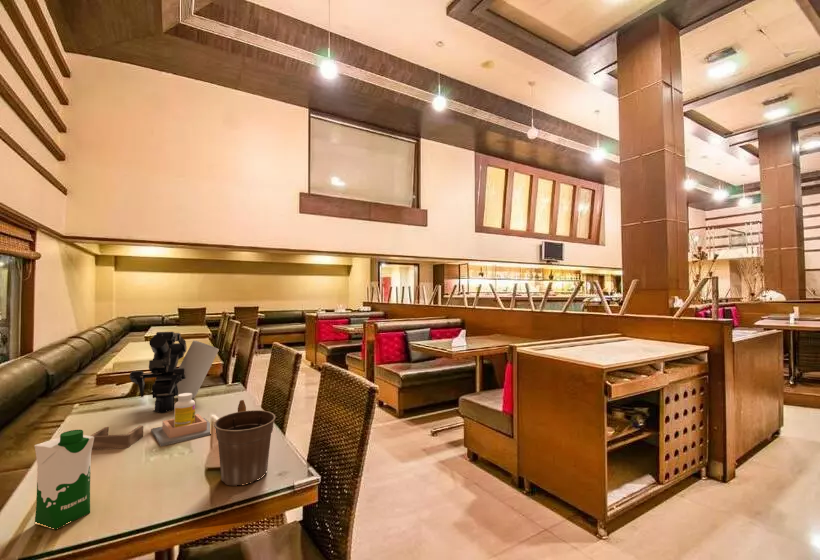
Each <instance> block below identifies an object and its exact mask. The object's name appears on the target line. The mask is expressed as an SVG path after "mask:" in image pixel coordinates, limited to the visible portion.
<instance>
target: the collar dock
mask: <svg viewBox="0 0 820 560" xmlns="http://www.w3.org/2000/svg"><path fill="white" fill-rule="evenodd" d="M210 423H211V422H210V421H208V420H207V418H205V417H202V416H201V414H200V413H195V423H194V424H189V425H184V426H180V427H175V428H174V418H170V419H165V420H162V426H159V427H153V428H151V429H150V433H152V435H153V437H154V438H155V439H156V440H155V441H157V443H158V445H160V447H164V446H168V445H172V444H177V443H181V442H185V441H189V440H190V441H191V440H194V439H197V438H198V439H199V438H202V437H206V436H210Z"/></svg>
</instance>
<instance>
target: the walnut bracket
mask: <svg viewBox="0 0 820 560" xmlns="http://www.w3.org/2000/svg"><path fill="white" fill-rule="evenodd" d="M90 436H92V437H94V442H93V446H92V451H93V450H94V451H95V450H107V449H108V450H110V449H112V450H113V449H125V448H126V449H127V448H130V447H131V446H133V445H134V444H135V443H136V442H138V441H139V440H141V439H142V438H143V437H144V425H138V426H137V427H135V428H134V429H132V430H131V431H129V432H128V433H126V434H110V435H109V427H108V426H107V427H106V426H105V427H103V428H101V429H99V430H98V431H96V432H95V433H93V434H91V435H90Z"/></svg>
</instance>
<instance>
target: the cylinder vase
mask: <svg viewBox="0 0 820 560" xmlns="http://www.w3.org/2000/svg"><path fill="white" fill-rule="evenodd" d="M219 350H220V349H219V348H217V347H216V346H213V345H210V344H207V343H204V342H201V341H198V340H192V342H191V344H190V346H189V348H188V350H186V352H185V354H184V356H183V359H182V361H181V363H180V364H179V367H178V368H184V369H185V371H186V378H185V379H182V381H179V382H178V383H177V386H178V395H179V394H183V393H192V400H194V398H196V396H197V394H198V393H199V391H200V388H201V386H202V384H203V383H204V380H205V378H206V376H207V374H208V373H209V371H210V369H211V367H212V364H213V363H214V360H215V358H216V356H217V355H218V352H219ZM173 393H174V392H173ZM178 395H176V396H175V397H178Z"/></svg>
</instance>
